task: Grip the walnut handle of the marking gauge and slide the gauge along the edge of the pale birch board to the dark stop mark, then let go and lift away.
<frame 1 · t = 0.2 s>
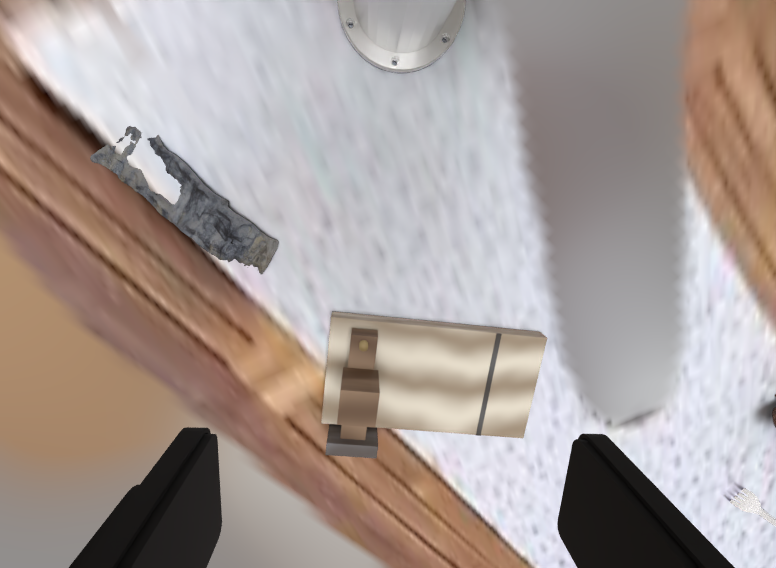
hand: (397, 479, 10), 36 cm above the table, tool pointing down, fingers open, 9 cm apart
gauge: (357, 398, 44), point 5 cm above the table, slide at 0.0 cm
fork: (765, 514, 59), on the table
board: (430, 373, 50), on the table
driftwood: (198, 202, 44), on the table
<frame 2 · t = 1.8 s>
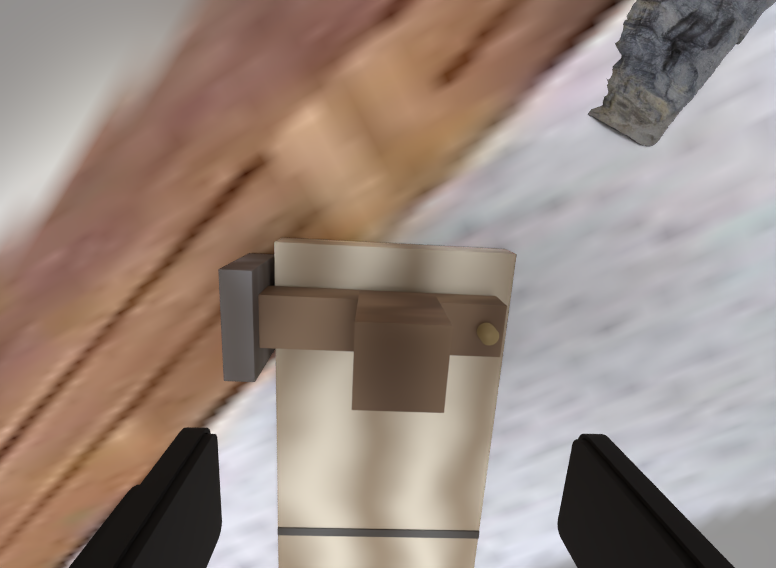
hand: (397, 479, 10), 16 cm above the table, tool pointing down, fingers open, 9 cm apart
gauge: (368, 330, 21), point 5 cm above the table, slide at 0.0 cm
board: (384, 426, 27), on the table
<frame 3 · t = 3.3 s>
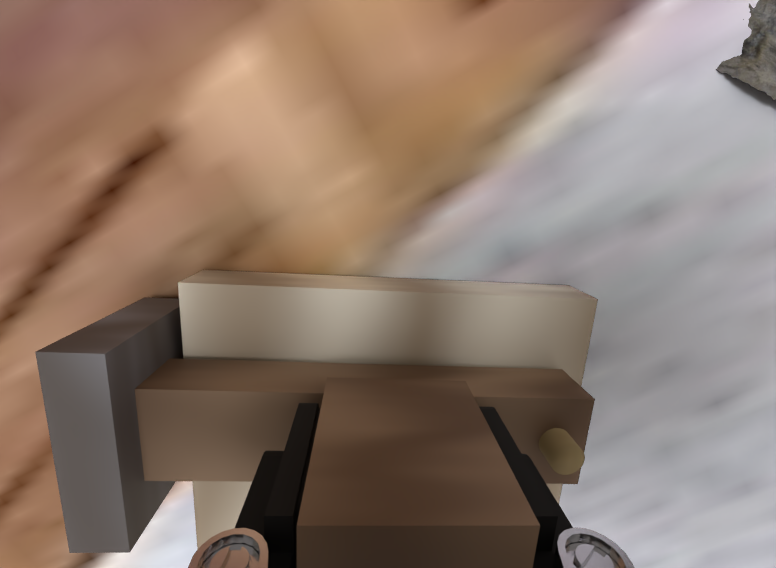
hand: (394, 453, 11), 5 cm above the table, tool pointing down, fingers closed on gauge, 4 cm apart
gauge: (343, 452, 11), point 5 cm above the table, slide at 0.0 cm, touching gripper
board: (375, 552, 18), on the table
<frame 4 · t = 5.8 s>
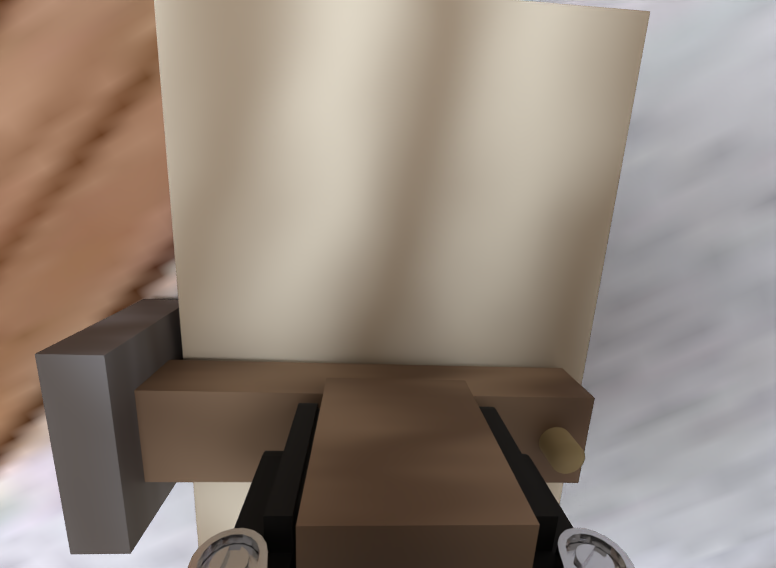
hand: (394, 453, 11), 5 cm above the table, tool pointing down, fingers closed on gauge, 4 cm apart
gauge: (343, 452, 11), point 5 cm above the table, slide at 8.7 cm, touching gripper
board: (385, 380, 16), on the table
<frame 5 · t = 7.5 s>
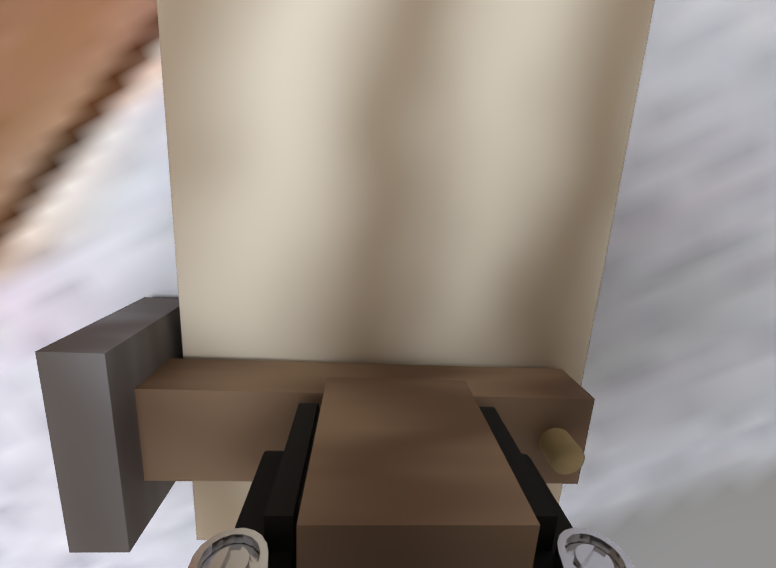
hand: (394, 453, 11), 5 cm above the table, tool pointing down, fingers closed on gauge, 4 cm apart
gauge: (343, 452, 11), point 5 cm above the table, slide at 15.9 cm, touching gripper
board: (396, 200, 14), on the table
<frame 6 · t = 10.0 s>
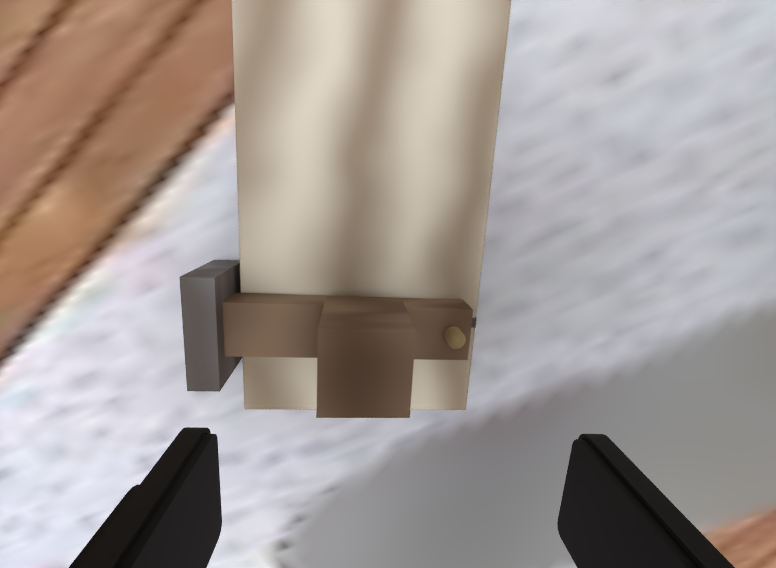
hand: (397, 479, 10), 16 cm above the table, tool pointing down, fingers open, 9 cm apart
gauge: (335, 336, 20), point 5 cm above the table, slide at 16.0 cm
board: (365, 199, 24), on the table
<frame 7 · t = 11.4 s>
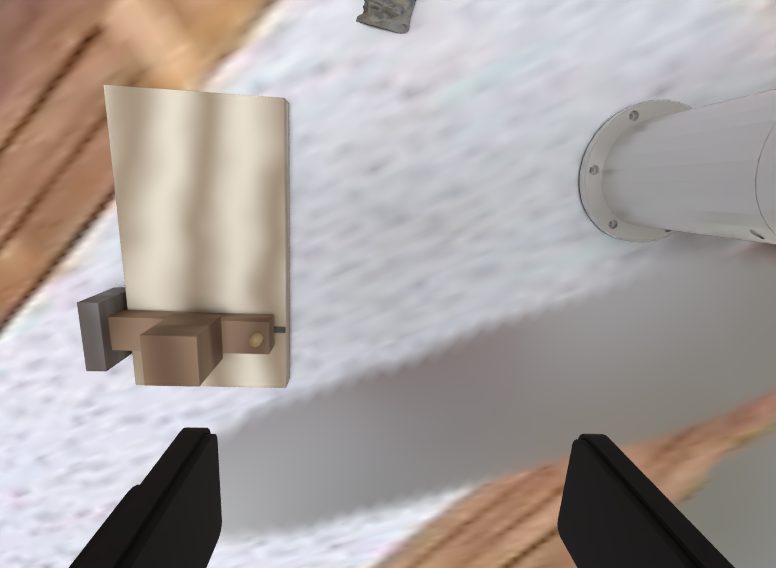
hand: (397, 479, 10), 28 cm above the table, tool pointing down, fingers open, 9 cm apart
gauge: (177, 338, 33), point 5 cm above the table, slide at 16.0 cm
board: (212, 248, 36), on the table
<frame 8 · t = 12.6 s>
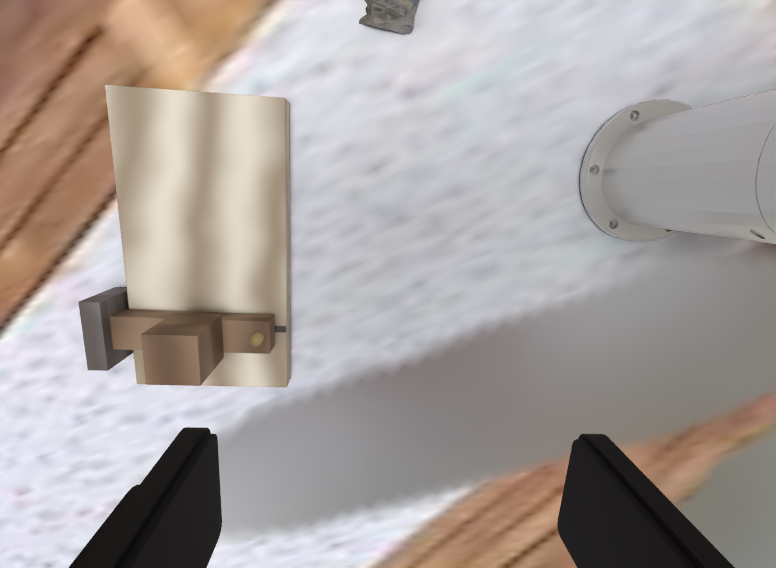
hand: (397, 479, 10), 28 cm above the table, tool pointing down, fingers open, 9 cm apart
gauge: (178, 337, 33), point 5 cm above the table, slide at 16.0 cm
board: (213, 248, 36), on the table
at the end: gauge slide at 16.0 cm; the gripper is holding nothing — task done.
